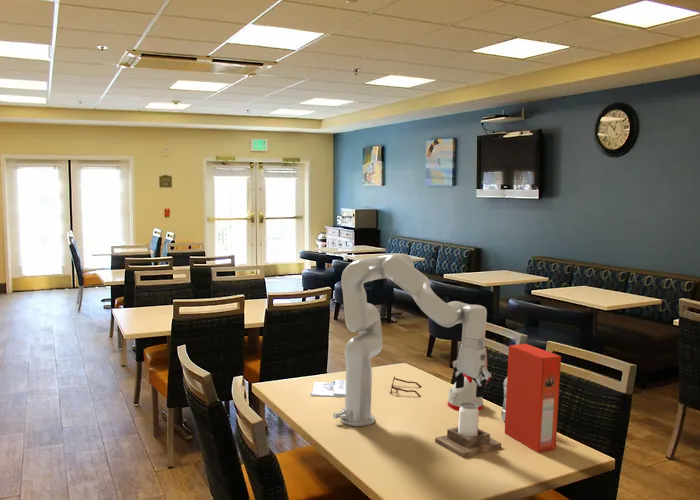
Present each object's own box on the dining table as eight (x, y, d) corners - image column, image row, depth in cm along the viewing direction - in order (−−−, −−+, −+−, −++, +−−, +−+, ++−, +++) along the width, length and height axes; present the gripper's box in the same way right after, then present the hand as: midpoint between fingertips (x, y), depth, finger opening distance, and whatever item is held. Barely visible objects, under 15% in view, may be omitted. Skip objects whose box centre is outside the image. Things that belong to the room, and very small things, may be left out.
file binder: (536, 452, 203) (542, 358, 200) (503, 433, 218) (508, 345, 215) (555, 449, 206) (561, 356, 203) (522, 430, 222) (527, 343, 219)
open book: (358, 399, 251) (358, 394, 251) (309, 397, 251) (309, 392, 251) (358, 384, 270) (358, 379, 270) (312, 383, 270) (313, 378, 270)
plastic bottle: (498, 418, 233) (501, 367, 231) (515, 418, 233) (518, 367, 231) (504, 425, 226) (507, 372, 224) (521, 425, 227) (525, 372, 225)
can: (477, 445, 204) (478, 409, 203) (457, 442, 205) (459, 407, 204) (477, 437, 210) (479, 403, 209) (458, 435, 211) (459, 401, 210)
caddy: (463, 457, 197) (464, 444, 197) (435, 442, 209) (435, 429, 208) (501, 447, 206) (501, 434, 206) (471, 432, 218) (472, 420, 217)
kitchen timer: (471, 398, 254) (473, 363, 253) (489, 410, 241) (491, 373, 240) (441, 401, 250) (443, 365, 249) (457, 413, 237) (459, 375, 236)
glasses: (391, 385, 270) (392, 374, 269) (421, 387, 268) (422, 376, 267) (389, 395, 257) (390, 383, 256) (421, 397, 255) (421, 386, 255)
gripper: (500, 347, 199) (496, 398, 201) (463, 335, 213) (460, 383, 215) (483, 349, 195) (479, 402, 197) (447, 337, 209) (443, 386, 211)
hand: (469, 392), depth 206 cm, fingers open, 9 cm apart
